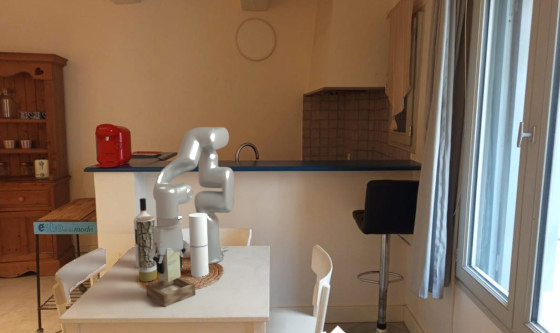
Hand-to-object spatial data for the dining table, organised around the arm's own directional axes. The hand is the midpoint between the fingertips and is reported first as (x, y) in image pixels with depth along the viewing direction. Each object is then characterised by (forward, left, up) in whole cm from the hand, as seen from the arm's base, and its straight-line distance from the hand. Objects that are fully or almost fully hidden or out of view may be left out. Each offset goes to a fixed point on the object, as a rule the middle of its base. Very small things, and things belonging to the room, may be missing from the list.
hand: (169, 269), depth 143 cm
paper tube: (-2, -20, -10) cm, 22 cm away
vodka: (-9, -35, -10) cm, 37 cm away
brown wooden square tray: (0, 0, -10) cm, 10 cm away
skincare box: (0, 0, -4) cm, 4 cm away
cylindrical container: (-19, -9, -10) cm, 23 cm away
